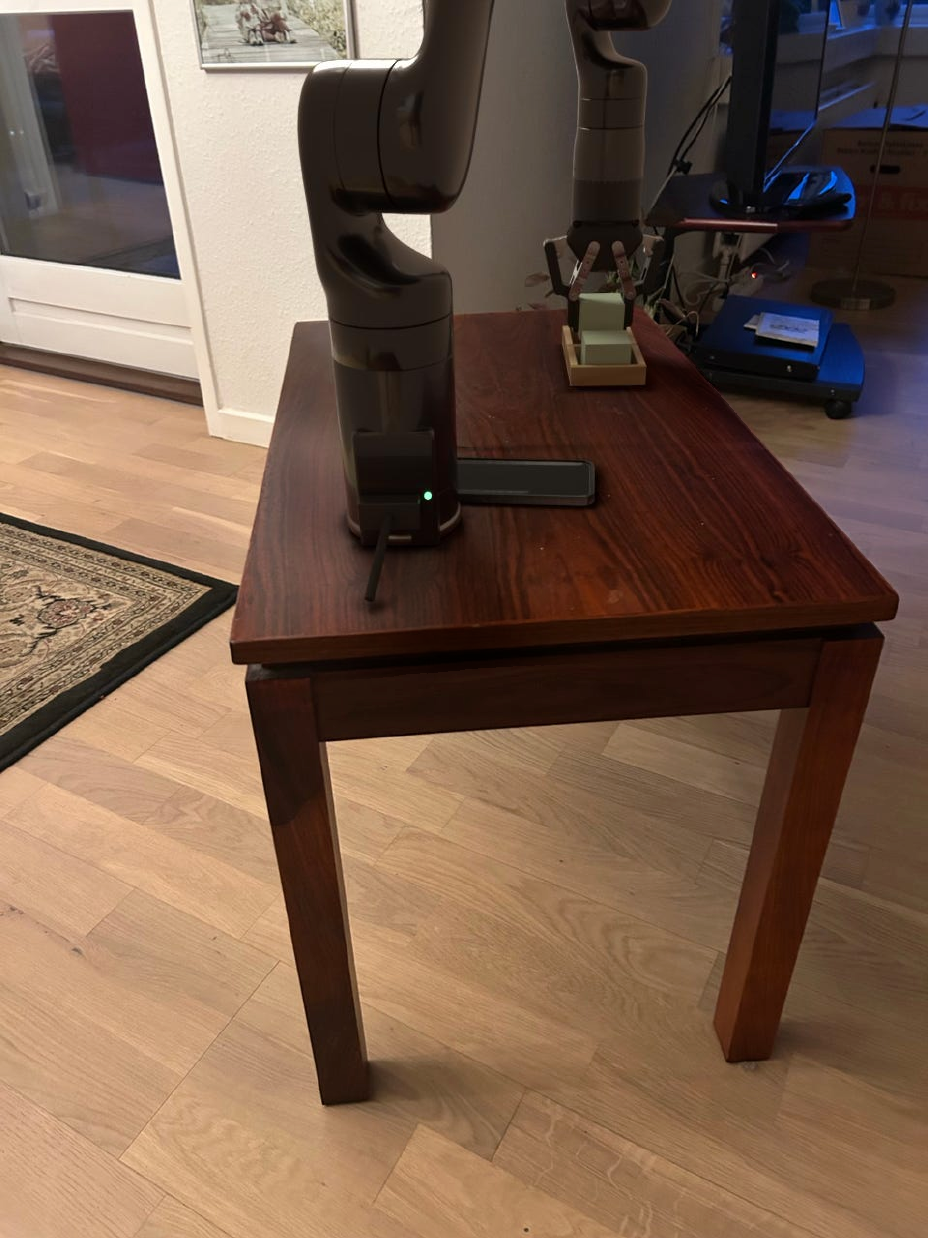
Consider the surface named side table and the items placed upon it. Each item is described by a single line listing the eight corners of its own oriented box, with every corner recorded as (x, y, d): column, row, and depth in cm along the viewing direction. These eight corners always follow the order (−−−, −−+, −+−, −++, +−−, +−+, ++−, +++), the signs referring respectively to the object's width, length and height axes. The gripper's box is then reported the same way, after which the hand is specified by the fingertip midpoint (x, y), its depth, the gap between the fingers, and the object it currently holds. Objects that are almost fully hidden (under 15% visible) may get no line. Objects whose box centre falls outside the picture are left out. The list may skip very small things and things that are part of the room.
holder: (644, 389, 103) (646, 366, 102) (570, 390, 104) (571, 367, 102) (627, 345, 116) (629, 324, 115) (561, 346, 117) (562, 325, 115)
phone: (432, 456, 88) (594, 459, 87) (433, 467, 89) (594, 471, 87) (419, 493, 82) (595, 497, 80) (420, 505, 82) (594, 509, 81)
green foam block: (629, 379, 104) (631, 343, 102) (583, 380, 105) (585, 344, 102) (623, 364, 109) (626, 329, 106) (580, 365, 109) (581, 330, 107)
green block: (622, 339, 109) (625, 304, 107) (579, 340, 109) (580, 305, 107) (617, 326, 113) (620, 292, 111) (576, 327, 114) (577, 293, 111)
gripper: (542, 179, 99) (539, 341, 108) (680, 176, 98) (665, 339, 108) (539, 168, 105) (536, 322, 115) (669, 165, 105) (655, 320, 114)
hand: (599, 329), depth 111 cm, fingers closed on green block, 5 cm apart
